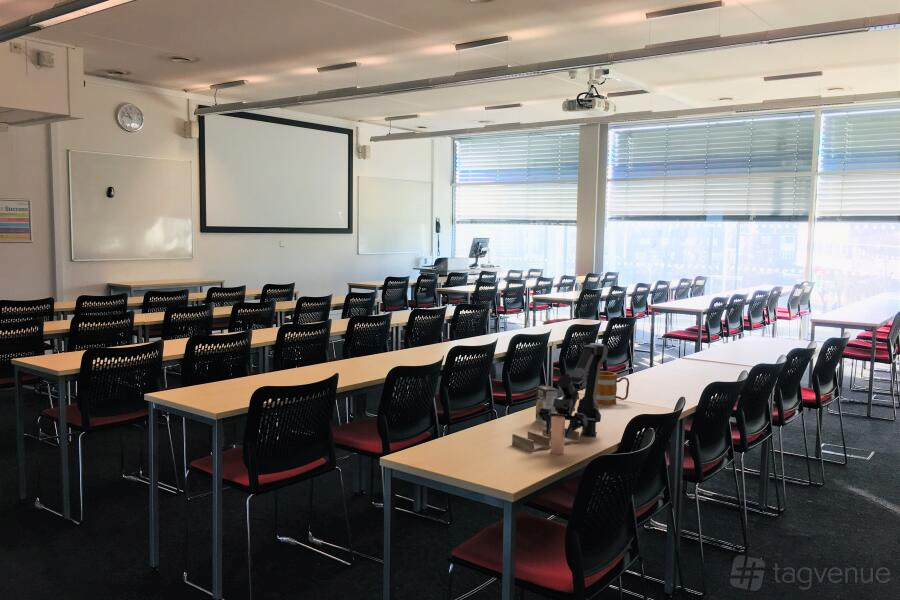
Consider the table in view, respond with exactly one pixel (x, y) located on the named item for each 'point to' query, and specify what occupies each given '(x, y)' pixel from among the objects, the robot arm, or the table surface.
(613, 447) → the table surface
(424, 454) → the table surface
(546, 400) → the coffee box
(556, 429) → the wooden block
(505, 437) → the table surface
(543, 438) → the rack
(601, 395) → the mug
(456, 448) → the table surface
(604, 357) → the robot arm
